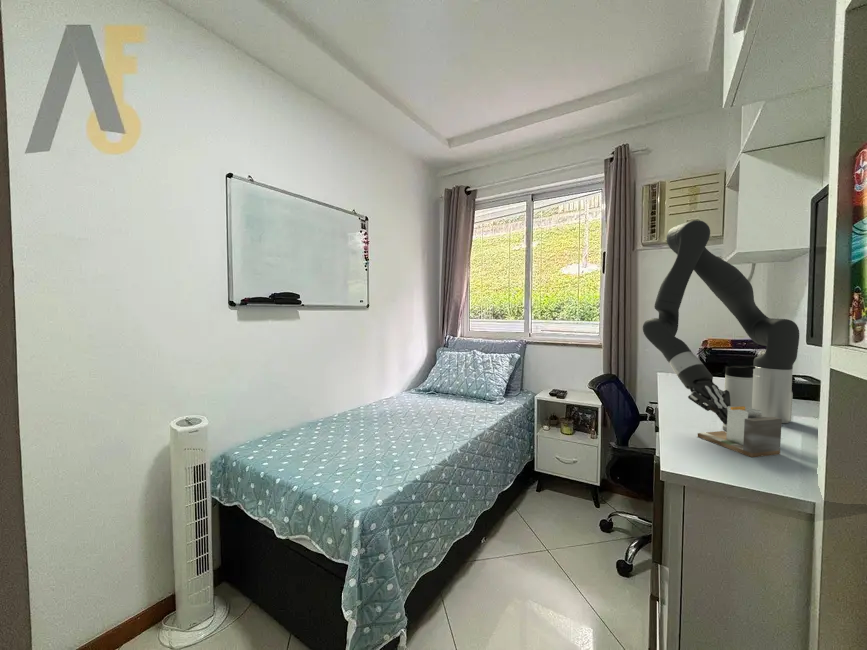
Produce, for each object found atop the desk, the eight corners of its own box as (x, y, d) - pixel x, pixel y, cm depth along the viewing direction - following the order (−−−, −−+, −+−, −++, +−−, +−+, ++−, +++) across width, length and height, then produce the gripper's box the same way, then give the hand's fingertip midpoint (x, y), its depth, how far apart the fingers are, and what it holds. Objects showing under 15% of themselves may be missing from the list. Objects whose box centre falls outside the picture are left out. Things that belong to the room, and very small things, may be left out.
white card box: (720, 440, 93) (721, 404, 93) (739, 438, 95) (741, 403, 94) (740, 447, 88) (742, 410, 88) (760, 445, 90) (761, 408, 89)
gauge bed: (697, 436, 99) (698, 405, 99) (722, 434, 101) (724, 403, 101) (751, 457, 86) (753, 421, 85) (779, 454, 88) (781, 418, 87)
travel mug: (745, 437, 99) (749, 367, 98) (718, 429, 105) (721, 363, 104) (756, 433, 102) (759, 365, 101) (728, 426, 108) (731, 362, 107)
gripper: (680, 363, 102) (721, 418, 91) (716, 362, 105) (760, 414, 94) (664, 378, 107) (700, 431, 96) (699, 376, 110) (738, 427, 99)
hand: (730, 422), depth 95 cm, fingers closed
